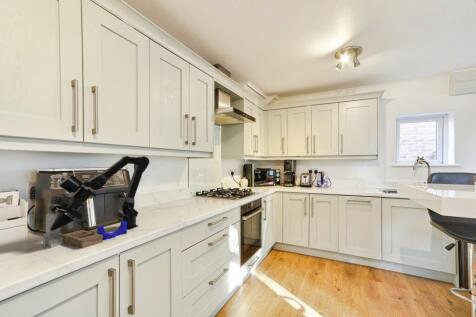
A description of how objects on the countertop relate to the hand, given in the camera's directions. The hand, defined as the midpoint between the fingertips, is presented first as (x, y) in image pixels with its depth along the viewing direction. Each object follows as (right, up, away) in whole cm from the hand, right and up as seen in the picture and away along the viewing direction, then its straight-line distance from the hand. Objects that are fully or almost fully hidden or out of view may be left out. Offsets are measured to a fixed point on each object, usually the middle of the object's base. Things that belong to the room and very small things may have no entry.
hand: (49, 229), depth 92 cm
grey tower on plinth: (+1, -7, +1) cm, 7 cm away
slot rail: (+11, -7, +4) cm, 14 cm away
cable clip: (+20, -7, +12) cm, 25 cm away
